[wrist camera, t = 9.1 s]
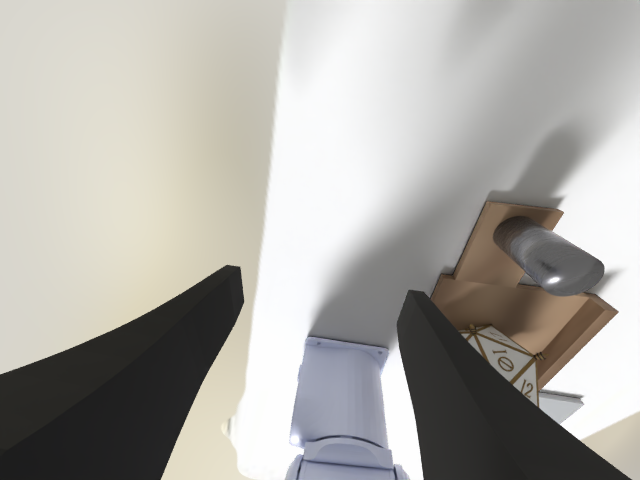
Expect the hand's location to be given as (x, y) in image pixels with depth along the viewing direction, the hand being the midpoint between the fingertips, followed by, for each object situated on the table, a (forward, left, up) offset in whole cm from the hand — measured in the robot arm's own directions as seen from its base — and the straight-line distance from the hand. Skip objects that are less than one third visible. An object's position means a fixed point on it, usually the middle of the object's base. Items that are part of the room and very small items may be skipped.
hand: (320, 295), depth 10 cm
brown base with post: (+17, -8, -10) cm, 21 cm away
